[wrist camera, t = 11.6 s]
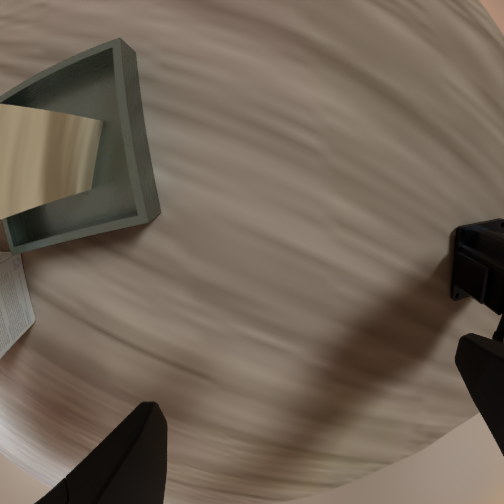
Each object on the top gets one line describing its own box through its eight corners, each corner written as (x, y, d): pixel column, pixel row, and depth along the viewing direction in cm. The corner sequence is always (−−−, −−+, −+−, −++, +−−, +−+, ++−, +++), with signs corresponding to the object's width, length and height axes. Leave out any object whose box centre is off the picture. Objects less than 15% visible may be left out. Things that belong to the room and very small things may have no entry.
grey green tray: (135, 52, 15) (120, 37, 12) (161, 212, 19) (148, 222, 16) (11, 107, 15) (-13, 105, 12) (34, 243, 19) (11, 255, 16)
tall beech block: (103, 121, 16) (-50, 99, 4) (91, 189, 17) (-59, 245, 5) (50, 116, 16) (-96, 109, 4) (40, 180, 17) (-103, 222, 5)
